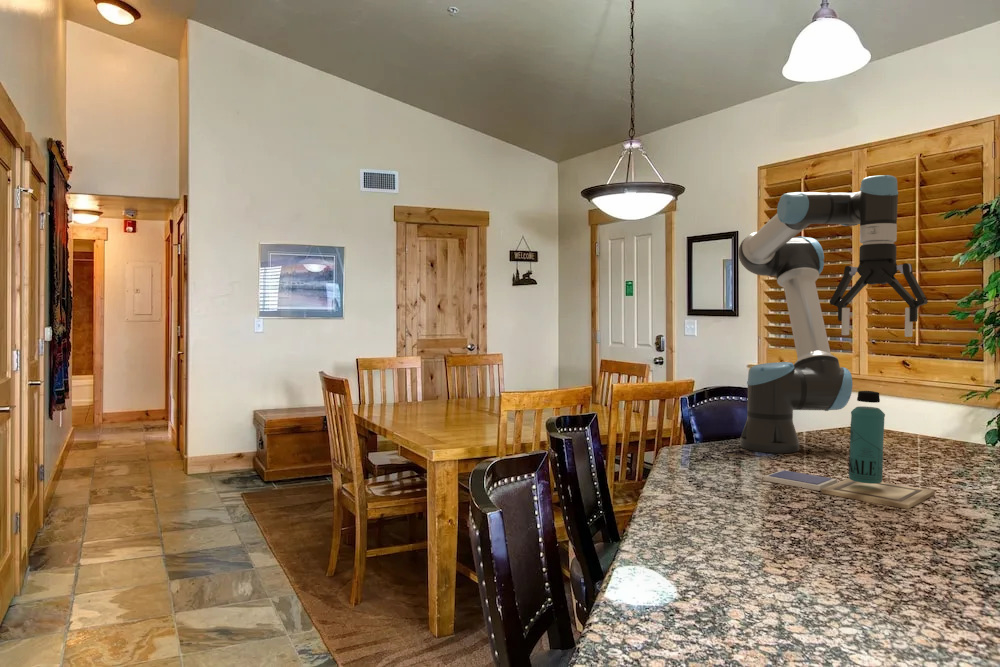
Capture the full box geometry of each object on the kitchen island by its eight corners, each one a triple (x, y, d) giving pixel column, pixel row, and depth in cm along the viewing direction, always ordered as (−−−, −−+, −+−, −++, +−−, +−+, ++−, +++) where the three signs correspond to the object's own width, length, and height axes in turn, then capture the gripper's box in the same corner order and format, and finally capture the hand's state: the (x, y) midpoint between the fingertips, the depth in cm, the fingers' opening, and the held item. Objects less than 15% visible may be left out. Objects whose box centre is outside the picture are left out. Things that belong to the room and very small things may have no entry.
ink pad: (763, 480, 154) (764, 475, 154) (782, 474, 160) (782, 469, 160) (819, 490, 145) (819, 485, 145) (836, 483, 151) (837, 478, 151)
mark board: (821, 492, 143) (821, 488, 143) (851, 480, 154) (851, 476, 154) (908, 509, 131) (908, 504, 131) (934, 494, 142) (934, 490, 142)
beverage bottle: (874, 483, 148) (878, 389, 147) (888, 492, 141) (892, 393, 140) (842, 482, 148) (845, 388, 148) (854, 490, 142) (858, 392, 141)
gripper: (816, 246, 168) (814, 334, 169) (934, 238, 150) (932, 337, 150) (829, 248, 173) (827, 334, 174) (944, 241, 155) (942, 337, 156)
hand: (876, 336), depth 162 cm, fingers open, 13 cm apart
